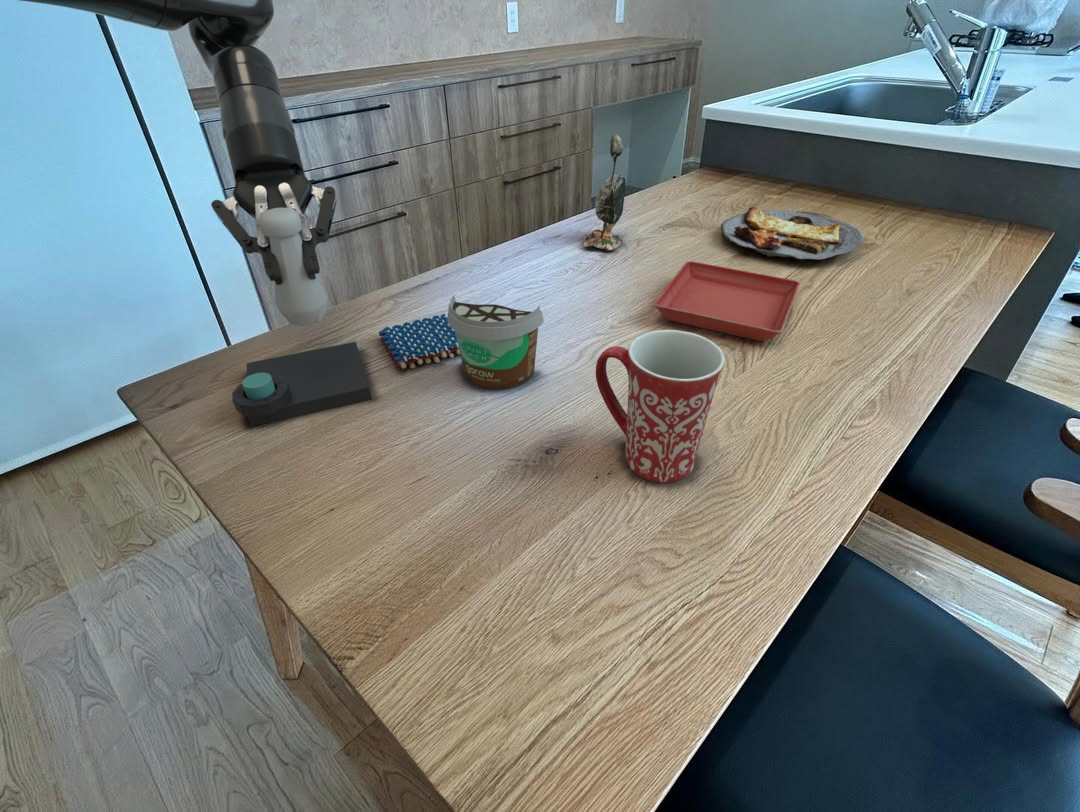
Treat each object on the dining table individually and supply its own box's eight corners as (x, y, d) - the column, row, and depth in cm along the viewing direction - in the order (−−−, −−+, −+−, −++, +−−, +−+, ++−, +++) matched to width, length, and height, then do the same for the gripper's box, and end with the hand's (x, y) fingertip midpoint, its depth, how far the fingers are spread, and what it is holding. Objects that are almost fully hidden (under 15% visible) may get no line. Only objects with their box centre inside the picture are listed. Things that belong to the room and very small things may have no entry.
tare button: (246, 403, 67) (241, 390, 66) (246, 388, 69) (241, 376, 68) (276, 396, 68) (271, 384, 67) (275, 382, 70) (270, 370, 69)
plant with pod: (635, 236, 115) (645, 126, 104) (610, 256, 108) (617, 139, 96) (598, 229, 119) (603, 122, 107) (571, 248, 111) (573, 134, 99)
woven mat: (474, 354, 81) (472, 341, 80) (399, 374, 77) (396, 361, 76) (448, 322, 88) (446, 310, 87) (378, 339, 85) (375, 326, 83)
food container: (438, 386, 75) (428, 316, 69) (457, 361, 79) (449, 294, 73) (530, 402, 72) (527, 330, 66) (544, 375, 76) (543, 306, 70)
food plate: (700, 246, 111) (702, 228, 109) (746, 212, 126) (750, 196, 124) (838, 278, 99) (844, 258, 97) (871, 237, 113) (877, 219, 111)
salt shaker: (336, 321, 70) (310, 214, 62) (287, 334, 68) (253, 224, 60) (324, 302, 74) (298, 199, 67) (277, 314, 72) (244, 208, 64)
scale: (241, 434, 67) (231, 410, 65) (242, 376, 77) (233, 354, 75) (373, 404, 72) (368, 380, 70) (358, 353, 82) (353, 331, 80)
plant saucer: (796, 299, 93) (801, 279, 91) (776, 352, 80) (782, 331, 78) (684, 278, 100) (687, 259, 98) (650, 324, 87) (652, 304, 85)
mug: (717, 453, 64) (740, 346, 56) (680, 502, 58) (700, 391, 50) (616, 412, 70) (624, 310, 62) (574, 453, 64) (576, 347, 56)
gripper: (326, 153, 73) (360, 281, 72) (204, 165, 69) (236, 302, 68) (321, 114, 66) (357, 256, 65) (184, 125, 62) (219, 277, 60)
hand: (295, 279), depth 66 cm, fingers closed on salt shaker, 3 cm apart
